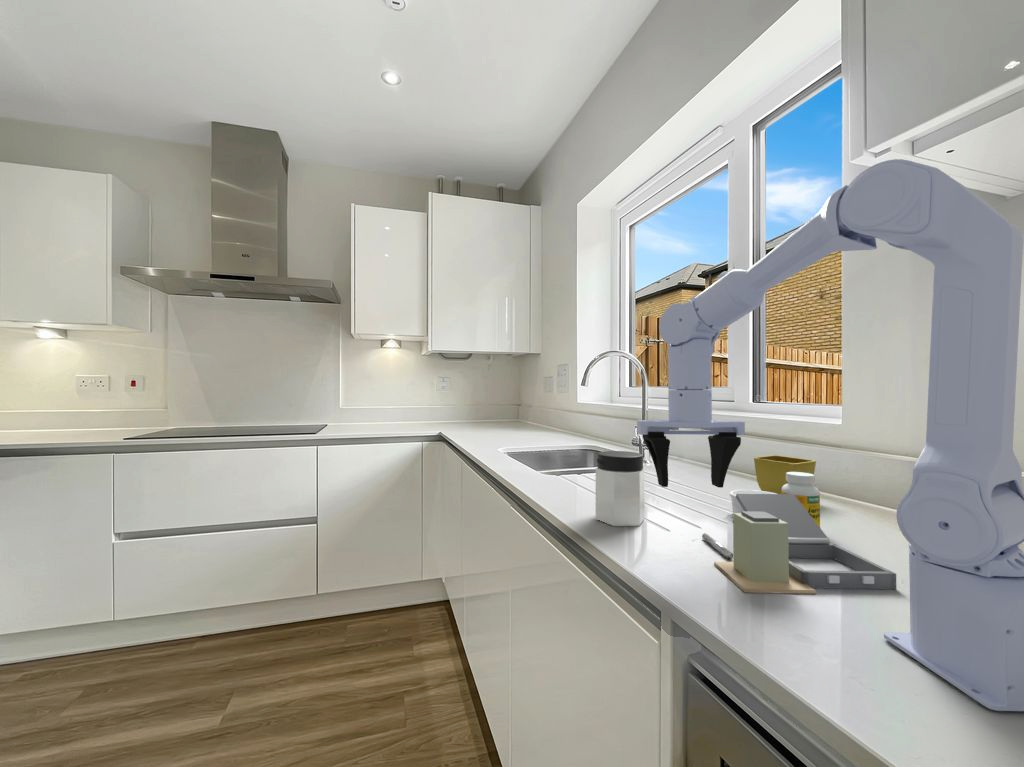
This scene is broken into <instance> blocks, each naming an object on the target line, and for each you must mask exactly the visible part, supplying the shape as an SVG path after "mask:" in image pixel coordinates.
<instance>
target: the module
mask: <svg viewBox="0 0 1024 767" xmlns="http://www.w3.org/2000/svg"><path fill="white" fill-rule="evenodd" d="M732 520H733V522H732V525H733V526H732V527H733V529H732V531H733V532H732V533H733V535H732V536H733V541H732V542H733V552H732V553H733V562H734V568H736V569H737V570H738V571H739V572H741V573H742V574H743V575H744V576H746V577H747V578H748V579H749V580H750V581H752V582H789V561H790V559H789V539H788V523H786V522H784V521H782V520H780V519H779V518H777V517H775V516H773V515H771V514H769V513H767V512H758V511H741V513H733V512H732Z"/></svg>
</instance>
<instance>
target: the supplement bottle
mask: <svg viewBox="0 0 1024 767" xmlns="http://www.w3.org/2000/svg"><path fill="white" fill-rule="evenodd" d="M786 481H787V482H788V484H785V485H784V486H783V487H782V494H794V495H795V496H796V498H797V499H798V500H799V502H800V503H801V504H802V505H803V507H804V508H805V509H806V511H807V512H808V513H809V514H810V516H811V517H812V518H813V519H814V521H815V522H816V523H817V525H818V526H819V527H820V528H821V497H820V496H821V494H820V493H821V492H820V490H819V488H817V487H815V486H813V485H815V482H816V481H815V474H814V475H813V474H810V473H803V472H787V473H786Z"/></svg>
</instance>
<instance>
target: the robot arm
mask: <svg viewBox="0 0 1024 767" xmlns="http://www.w3.org/2000/svg"><path fill="white" fill-rule="evenodd" d="M877 239H878V240H880V241H884V242H886V243H887V244H889V246H892V247H894V248H897V249H902V250H905V251H906V250H907V251H911V252H913V253H914V254H916V255H918V256H920V257H922V258H924V259H925V260H927V261H929V262H931V264H933V279H932V280H933V283H932V284H933V285H932V301H931V302H932V303H931V304H932V305H931V307H932V309H931V325H930V327H931V329H930V349H929V370H928V371H929V372H928V373H929V374H928V388H927V390H928V391H927V392H928V393H927V411H926V432H925V433H926V434H925V435H926V436H925V444H924V447H923V449H922V451H921V452H920V455H919V456H918V458H917V460H916V461H915V464H914V465H913V469H912V480H911V482H912V483H911V485H910V487H909V489H908V491H907V492H906V493H905V494H904V496H903V497H902V498H901V499H900V501H899V503H898V505H897V509H896V522H897V526H898V528H899V530H900V532H901V534H902V536H903V537H904V538H905V539H906V541H907V542H908V564H909V566H908V567H909V569H908V570H909V571H908V572H909V574H908V575H909V627H910V631H909V632H894V631H893V632H890V631H889V632H887V631H886V632H884V633H883V638H884V639H885V640H886V641H887V642H890V644H892V645H894V646H895V647H897V648H898V649H899V650H900V651H903V652H904V653H906V655H908V656H910V657H911V658H913V659H914V660H916V661H917V662H919V663H920V664H922V666H924V667H926V668H927V669H929V670H930V671H932V672H934V673H935V674H936V675H938V676H940V677H941V678H942V679H944V680H946V682H948V683H949V684H951V685H953V686H954V687H956V688H957V689H959V690H960V691H961V692H963V693H964V694H966V695H967V696H969V697H970V698H972V699H973V700H975V701H976V702H978V703H979V704H981V705H982V706H984V707H986V708H987V709H989V710H992V711H995V712H1024V551H1023V550H1022V549H1021V548H1020V547H1019V546H1020V545H1021V544H1023V543H1024V489H1023V488H1024V487H1023V483H1022V482H1023V481H1022V479H1023V471H1022V467H1021V465H1020V462H1019V461H1018V459H1017V456H1016V455H1015V451H1014V448H1013V447H1014V446H1013V445H1014V431H1015V430H1014V429H1015V428H1014V427H1015V426H1014V425H1015V409H1016V408H1015V407H1016V393H1017V392H1016V387H1017V369H1018V368H1017V367H1018V349H1019V346H1018V345H1019V334H1020V332H1019V329H1020V309H1021V308H1020V307H1021V291H1022V290H1021V289H1022V288H1021V287H1022V273H1023V272H1022V270H1023V267H1022V266H1023V252H1024V251H1023V249H1024V239H1023V235H1022V231H1021V230H1020V229H1019V228H1018V226H1016V225H1015V224H1014V223H1012V222H1011V221H1010V220H1009V219H1007V218H1006V217H1005V216H1004V215H1003V214H1001V213H1000V212H999V211H998V210H996V208H994V207H993V206H992V205H990V204H989V203H987V201H985V200H984V199H982V197H980V196H979V195H978V194H977V193H976V191H974V190H972V189H970V188H969V187H967V186H965V185H964V184H963V183H960V182H958V180H956V179H954V178H953V177H952V176H950V175H949V174H947V173H946V172H944V171H942V170H941V169H939V168H937V167H935V166H931V165H927V164H923V163H919V162H915V161H912V160H907V159H895V158H894V159H889V160H884V161H881V162H878V163H875V164H874V165H872V166H869V167H868V168H867V169H865V170H863V171H862V172H860V173H859V174H858V175H857V176H856V177H855V178H853V179H852V181H851V182H850V183H849V184H848V185H847V184H845V185H843V186H842V187H841V188H838V189H837V190H835V191H833V193H831V195H830V196H829V197H828V198H827V200H826V201H825V203H824V204H823V206H822V207H821V209H820V210H819V211H818V212H817V213H816V214H815V215H814V216H812V217H811V218H810V219H809V220H807V221H805V223H804V224H802V225H801V226H800V227H799V228H798V229H797V230H795V231H794V232H792V233H791V234H790V235H789V236H788V237H786V239H784V240H783V241H781V243H779V244H778V245H777V246H775V247H774V248H773V249H772V250H771V251H769V252H768V253H766V255H764V256H763V257H761V258H760V259H759V260H758V261H757V262H756V263H754V264H753V265H752V266H750V267H749V268H748V269H747V270H744V269H738V268H737V269H736V268H735V269H732V270H730V271H727V270H726V271H723V272H721V273H720V274H719V275H717V281H715V282H714V283H713V284H711V285H710V286H708V287H707V288H705V289H704V290H703V291H702V292H700V293H699V294H695V295H694V296H692V297H691V298H690V300H689V301H686V302H684V303H681V302H676V303H675V302H674V303H672V304H670V305H668V308H666V309H665V311H664V312H663V313H662V315H661V317H660V320H659V325H658V328H659V336H660V337H661V339H662V340H663V341H664V343H666V344H667V355H668V356H667V365H668V368H667V371H668V376H667V377H668V380H667V382H668V385H667V387H668V388H667V389H668V419H650V420H647V419H643V420H642V419H638V420H636V434H638V435H641V436H642V440H643V442H644V444H645V446H646V448H647V450H648V453H649V454H650V457H651V459H652V462H653V465H654V469H655V472H656V477H657V484H658V485H659V486H660V487H663V488H668V487H669V468H668V465H669V464H668V462H669V452H670V444H671V440H670V439H669V438H667V436H666V435H702V436H703V435H708V436H707V440H708V444H709V450H710V461H711V462H710V464H711V465H710V466H711V467H710V468H711V469H710V478H711V479H710V480H711V485H712V486H715V487H717V488H722V489H723V488H724V484H725V480H726V476H727V472H728V470H729V466H730V465H731V462H732V459H733V457H734V455H735V454H736V452H737V450H738V449H739V447H741V444H742V437H740V436H745V435H746V428H745V427H746V424H745V423H746V422H745V421H742V420H713V417H712V416H713V415H712V414H713V409H712V408H713V406H712V405H713V403H712V402H713V399H712V398H713V396H712V395H713V393H712V392H713V391H712V389H713V388H712V382H713V381H712V356H713V354H714V350H715V349H714V348H715V346H714V345H715V343H716V341H717V340H718V339H719V337H720V334H721V331H722V330H724V329H726V328H727V327H729V326H730V325H732V324H734V323H735V322H737V321H739V320H740V319H741V318H743V317H745V316H746V315H748V314H750V313H752V312H753V311H754V310H756V309H758V308H759V307H760V306H762V304H763V302H764V298H765V293H766V291H768V290H770V289H772V288H774V287H775V286H778V285H779V284H781V283H782V282H785V281H786V280H788V279H790V278H791V277H792V276H794V275H797V274H798V273H799V272H801V271H803V270H805V269H807V268H809V267H810V266H811V265H813V264H815V263H817V262H818V261H820V260H822V259H824V258H825V257H828V256H829V255H831V254H832V253H836V252H855V251H872V250H877V248H878V246H877V241H876V240H877ZM679 429H700V430H679Z"/></svg>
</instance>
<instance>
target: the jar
mask: <svg viewBox="0 0 1024 767" xmlns="http://www.w3.org/2000/svg"><path fill="white" fill-rule="evenodd" d="M596 457H597V458H596V464H597V465H596V466H597V467H596V468H595V520H596V519H597V520H596V521H598V520H600V521H599V522H601V521H602V522H601V523H603V522H605V523H604V524H606V523H607V525H609V524H610V526H612V527H639V526H641V524H642V523H643V522H644V520H645V468H644V455H643V454H642V453H640V452H634V451H626V450H625V451H623V450H605V451H599V452H597V454H596Z"/></svg>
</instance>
